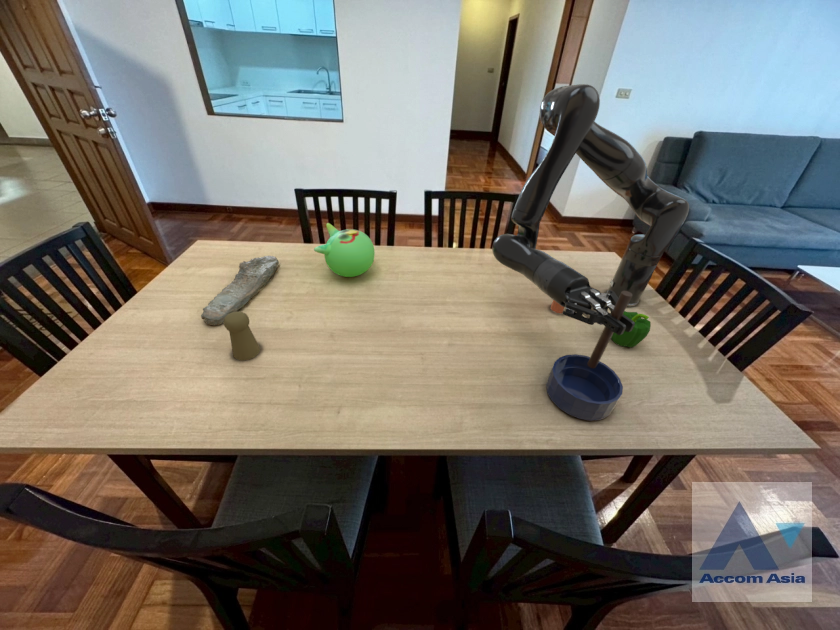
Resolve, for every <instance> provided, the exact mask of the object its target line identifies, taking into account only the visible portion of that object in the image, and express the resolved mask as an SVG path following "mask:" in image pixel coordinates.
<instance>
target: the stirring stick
mask: <svg viewBox="0 0 840 630" xmlns="http://www.w3.org/2000/svg"><path fill="white" fill-rule="evenodd" d="M631 297H632V293H630V292H628V291H622V292H621V294H620V296H619V298H618V300H617V302H616V305H615V307H614V309H613V311H612V313H611V312H610V314H611V315H612V316H613V317H615V318H616V319H618V320H619V321H620V319H621V317H622V315H623V313H624V311H626V309H627V307H628V306H627V305H628V303H629V301H630V299H631ZM613 333H614V332H612V331H611V330H610V329H609V328H607V327H605V326H604V328H603V330H602V332H601V334H600V336H599V338H598V340H597V342H596V344H595V347H594V348H593V351H592V353H591V355H590V356H589V357H590V359H589V361H588V363H587V365H588V366H589V367H590V368H596V367H597V365H598V363H599V361H600V360H601V359H602V357H603V355H604V352H605V351H606V349H607V347H608V345H609V343H610V341H611V340H612V338H611V337H612V335H613ZM600 362H601V361H600Z"/></svg>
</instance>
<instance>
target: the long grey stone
mask: <svg viewBox="0 0 840 630" xmlns="http://www.w3.org/2000/svg"><path fill="white" fill-rule="evenodd" d="M279 265H280V262H279V260H278V258H277V256H273V255H264V256H260V257H254V258H251V259H250V260H247V261H245V260H243V262H240V263H239V265H238V268H239V270H238V272H237V273H236V274H235V275H234V279H233V280H232V281H231V282H230V283H229V284H227V285H226V286H225V287H224V288H222V290H221V291H220V293H217V294H216V295H215V296H214V297H213V299H212V300H210V301H209V302H208V304H207V305H206V306H205V307H203V308H202V314H201V315H200V317H201V320H204V323H205V324H206V325H209V326H220V325H222V324H224V318H225V317H226V316H227V315H228V314H230V313H232V312H238V311H240V309H242V307H244V306H245V305H246V304H247V303H248V302H249V301H250V300H251V299H252V298H253V297H254V296H255V295H257V294H258V293H259V291H260V289H262V288H263V286H264V285H265V284H267V283H268V281H270V279H271V277H272V276H273V275H274V274H275V273H276V270H277V269H278V267H279Z"/></svg>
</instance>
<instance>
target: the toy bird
mask: <svg viewBox="0 0 840 630" xmlns="http://www.w3.org/2000/svg"><path fill="white" fill-rule="evenodd" d="M325 226H326V230H327V232H328V235H329V238H328V239H327V241H326V243H325V244H320V245H317V246H315V247H314V248H313V251H314V252H315V253H318V254H323V255H324V260H325V263H326V265H327V267H328V268H329V269H330V271H331V272H332V273H334V274H336V275H338V276H341V277H345V278H354V277H359V276H361V275H363V274H364V273H366V272H367V271H368V270H369V269H370V268H371V267H372V265H373V263H374V260H375V255H376V254H375V246H374V243H373V241H372V239H371V238H370V237H369V235H367V234H366V233H364V232H363V231H361V230H358V229H351V228H349V229H343V230H339V229H337V228H336V227H335V226H334V225H332V224H331V223H330V222H327V223H325Z"/></svg>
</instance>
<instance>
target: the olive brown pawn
mask: <svg viewBox="0 0 840 630" xmlns="http://www.w3.org/2000/svg"><path fill="white" fill-rule="evenodd" d="M249 325H250V318H249V315H248V314H247V313H246V312H245V311H244V312H243V311H241V310H237V311H236V312H232V313H230V314H228V315H227V316H226V317H225V318H224V322H223V326H224V328H225V329H226V330H227V331H228V332H229V333H228V334H229V338H230V339H229V340H230V344H231V350H232V356H233V358H234V359H235V360H237V361H248V360H252V359H253V358H255V357H257V356H258V355H259V353H260V352H261V347H260V344H259V343H258V341H257V339H256V336H255V335H254V333H253V332H252V329H251V327H250V326H249Z"/></svg>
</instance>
